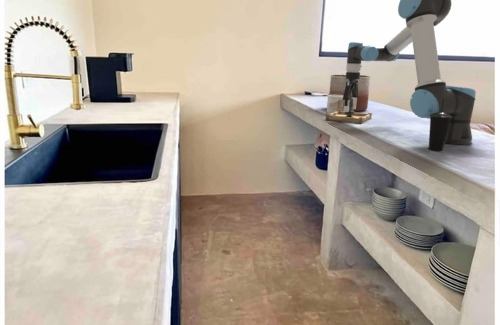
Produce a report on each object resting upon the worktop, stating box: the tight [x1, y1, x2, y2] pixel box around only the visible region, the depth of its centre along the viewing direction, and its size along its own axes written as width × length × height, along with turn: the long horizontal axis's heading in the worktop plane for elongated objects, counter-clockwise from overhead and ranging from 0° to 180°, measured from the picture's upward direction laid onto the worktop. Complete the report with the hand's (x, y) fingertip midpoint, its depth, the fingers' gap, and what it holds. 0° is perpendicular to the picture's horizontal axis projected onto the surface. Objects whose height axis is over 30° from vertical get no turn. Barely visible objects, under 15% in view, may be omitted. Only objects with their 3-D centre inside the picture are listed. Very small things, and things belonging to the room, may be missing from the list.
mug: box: [326, 94, 344, 114], centre depth 229 cm, size 10×12×11 cm
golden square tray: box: [325, 110, 373, 125], centre depth 210 cm, size 20×20×3 cm
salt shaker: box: [345, 97, 356, 118], centre depth 208 cm, size 6×6×12 cm
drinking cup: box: [428, 98, 452, 152], centre depth 142 cm, size 8×8×20 cm
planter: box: [328, 74, 371, 113], centre depth 244 cm, size 25×25×22 cm
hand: (349, 110), depth 209 cm, fingers open, 13 cm apart
